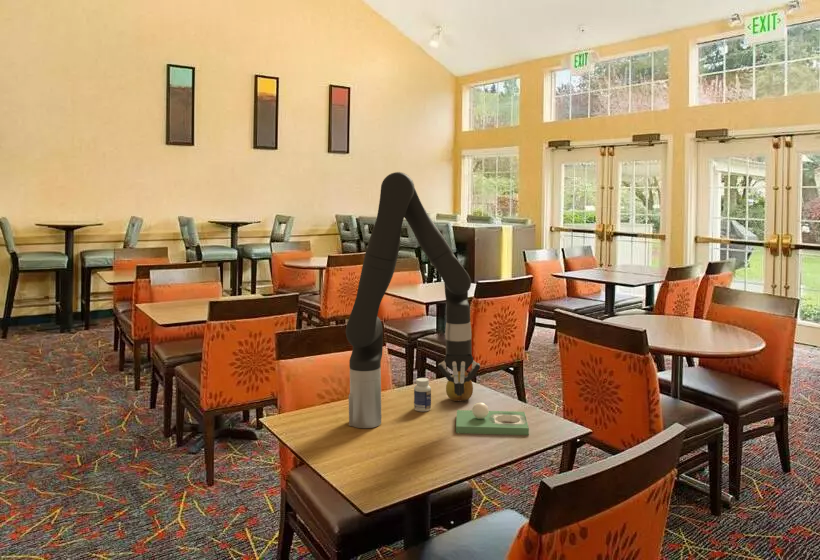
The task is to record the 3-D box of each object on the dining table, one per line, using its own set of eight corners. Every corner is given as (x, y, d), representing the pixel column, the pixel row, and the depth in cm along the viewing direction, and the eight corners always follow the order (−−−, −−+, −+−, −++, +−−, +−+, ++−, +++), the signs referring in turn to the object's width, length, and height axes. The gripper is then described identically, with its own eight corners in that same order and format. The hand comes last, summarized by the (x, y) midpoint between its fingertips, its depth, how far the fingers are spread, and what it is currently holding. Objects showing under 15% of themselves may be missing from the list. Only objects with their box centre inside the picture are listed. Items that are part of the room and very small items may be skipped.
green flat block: (456, 433, 180) (456, 426, 180) (456, 416, 194) (456, 410, 194) (529, 435, 178) (529, 428, 178) (524, 418, 192) (524, 411, 192)
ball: (472, 421, 184) (472, 405, 184) (472, 415, 189) (472, 400, 188) (488, 421, 184) (488, 405, 183) (488, 415, 188) (488, 400, 188)
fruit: (442, 397, 213) (442, 362, 212) (467, 394, 216) (467, 360, 214) (451, 405, 205) (451, 369, 203) (477, 402, 208) (477, 366, 206)
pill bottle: (429, 412, 198) (429, 382, 197) (412, 411, 199) (412, 381, 198) (432, 407, 203) (432, 377, 202) (416, 406, 204) (415, 376, 203)
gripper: (434, 340, 181) (436, 398, 183) (481, 340, 179) (482, 399, 181) (436, 334, 188) (437, 391, 190) (481, 334, 187) (481, 391, 189)
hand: (459, 394), depth 186 cm, fingers closed
